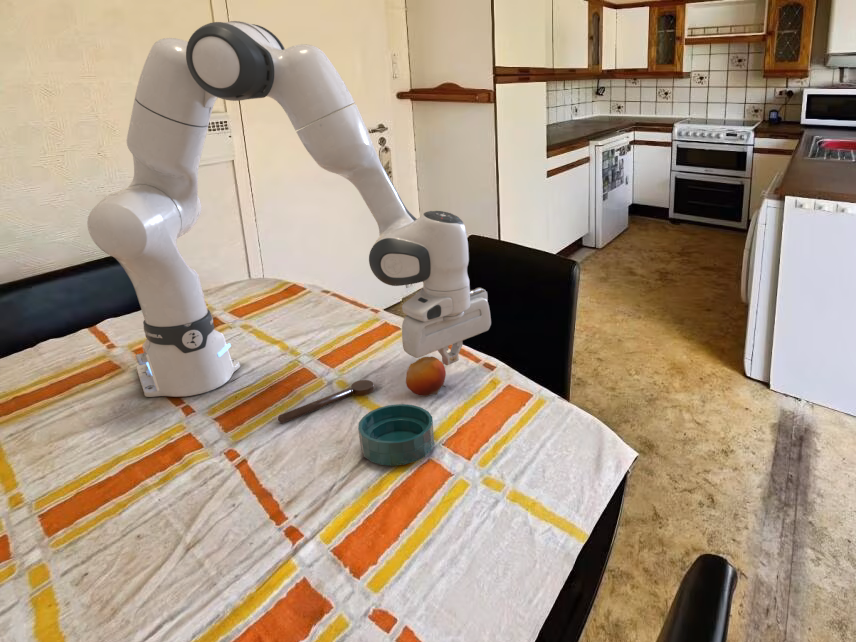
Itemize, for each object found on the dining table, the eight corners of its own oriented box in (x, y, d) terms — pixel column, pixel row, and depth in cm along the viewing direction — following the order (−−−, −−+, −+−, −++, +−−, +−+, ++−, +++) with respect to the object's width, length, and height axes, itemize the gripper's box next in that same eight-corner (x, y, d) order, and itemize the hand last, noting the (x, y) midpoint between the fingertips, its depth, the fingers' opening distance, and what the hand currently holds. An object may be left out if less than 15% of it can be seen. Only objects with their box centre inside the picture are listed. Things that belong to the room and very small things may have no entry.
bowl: (347, 447, 106) (344, 422, 104) (405, 420, 114) (403, 397, 111) (389, 478, 99) (386, 452, 96) (448, 447, 106) (447, 422, 104)
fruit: (449, 396, 119) (426, 362, 116) (416, 411, 122) (393, 378, 119) (460, 376, 126) (438, 344, 123) (429, 391, 129) (408, 360, 126)
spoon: (273, 419, 114) (271, 412, 113) (366, 382, 127) (365, 375, 126) (284, 428, 111) (283, 421, 111) (378, 390, 124) (377, 383, 123)
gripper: (476, 281, 128) (477, 342, 135) (394, 307, 115) (400, 373, 122) (497, 288, 124) (498, 351, 131) (415, 316, 111) (420, 384, 118)
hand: (450, 362), depth 126 cm, fingers closed
